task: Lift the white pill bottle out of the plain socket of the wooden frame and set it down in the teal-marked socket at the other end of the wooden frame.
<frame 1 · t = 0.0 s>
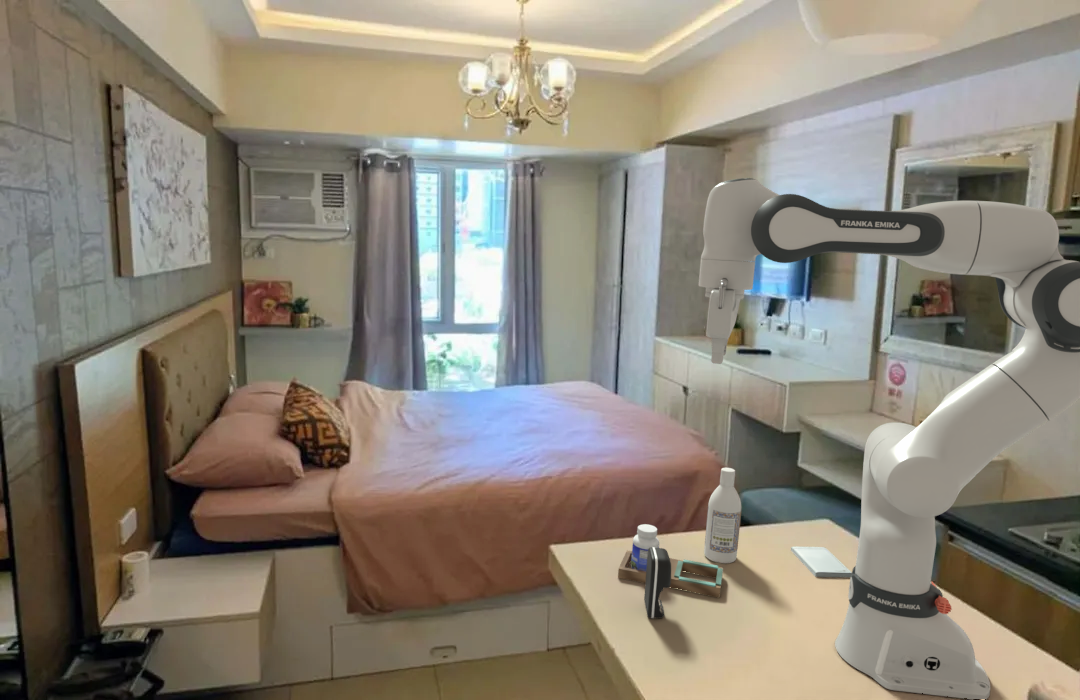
hand: (718, 358, 116), 48 cm above the table, tool pointing down, fingers open, 8 cm apart
wooden frame: (670, 577, 139), on the table
pill bottle: (643, 573, 141), resting in wooden frame
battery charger: (655, 611, 126), on the table
bath foam: (719, 557, 149), on the table
hard drive: (820, 566, 149), on the table
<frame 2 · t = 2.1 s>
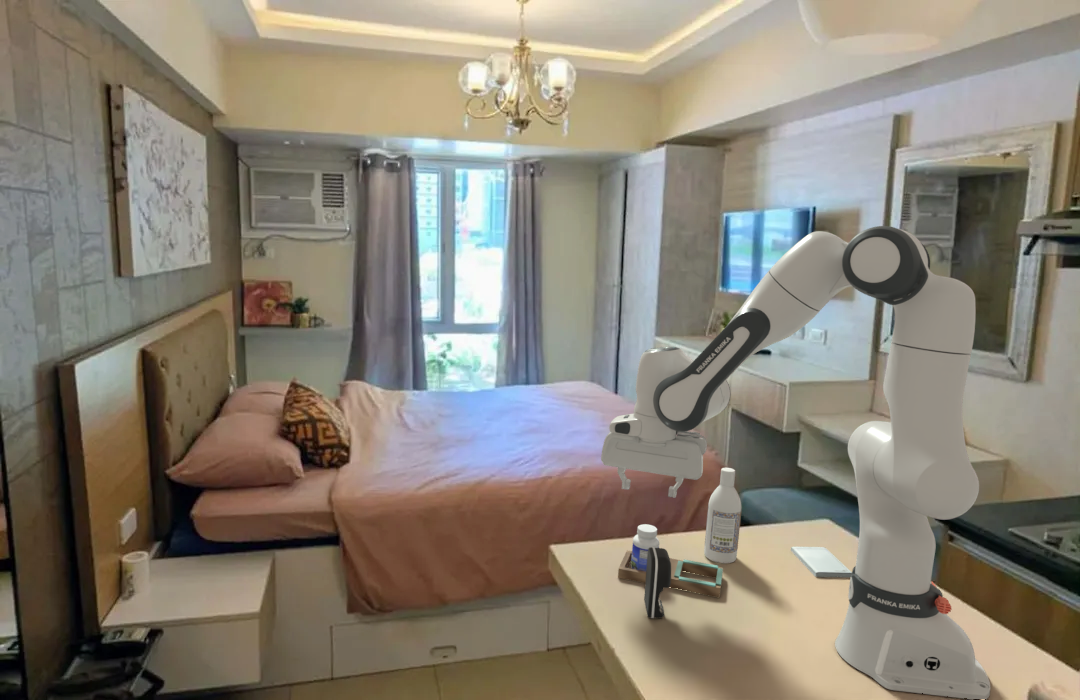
hand: (648, 492, 138), 17 cm above the table, tool pointing down, fingers open, 8 cm apart
nothing on the table moved.
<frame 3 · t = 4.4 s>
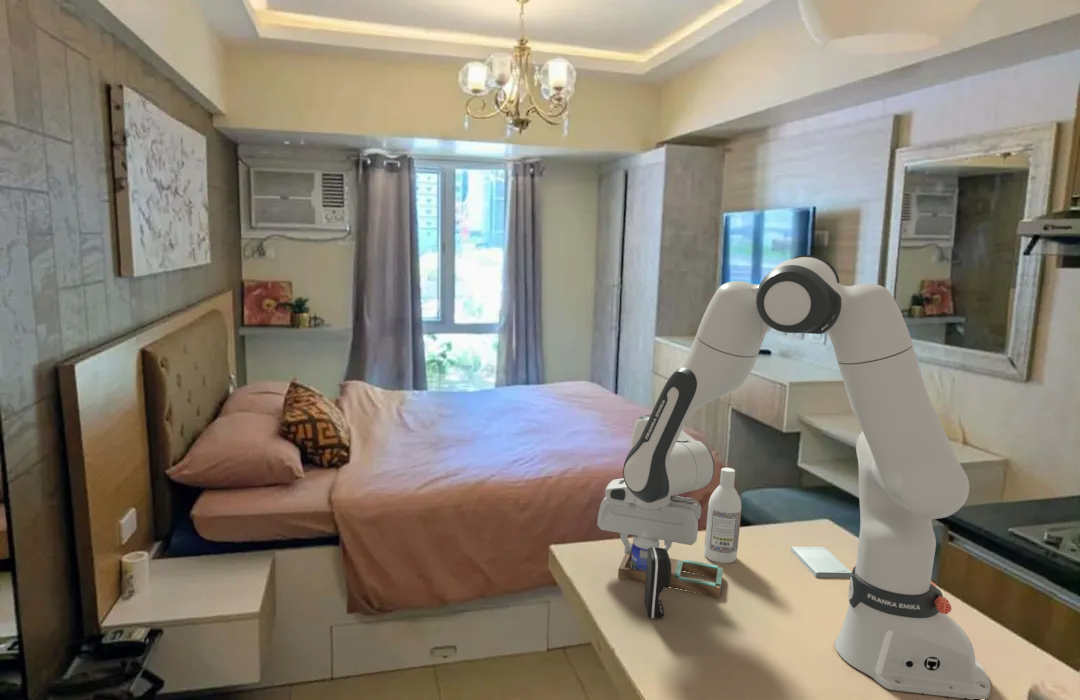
hand: (644, 555, 140), 4 cm above the table, tool pointing down, fingers closed on pill bottle, 5 cm apart
pill bottle: (643, 573, 141), resting in wooden frame, touching gripper
everything else where it was.
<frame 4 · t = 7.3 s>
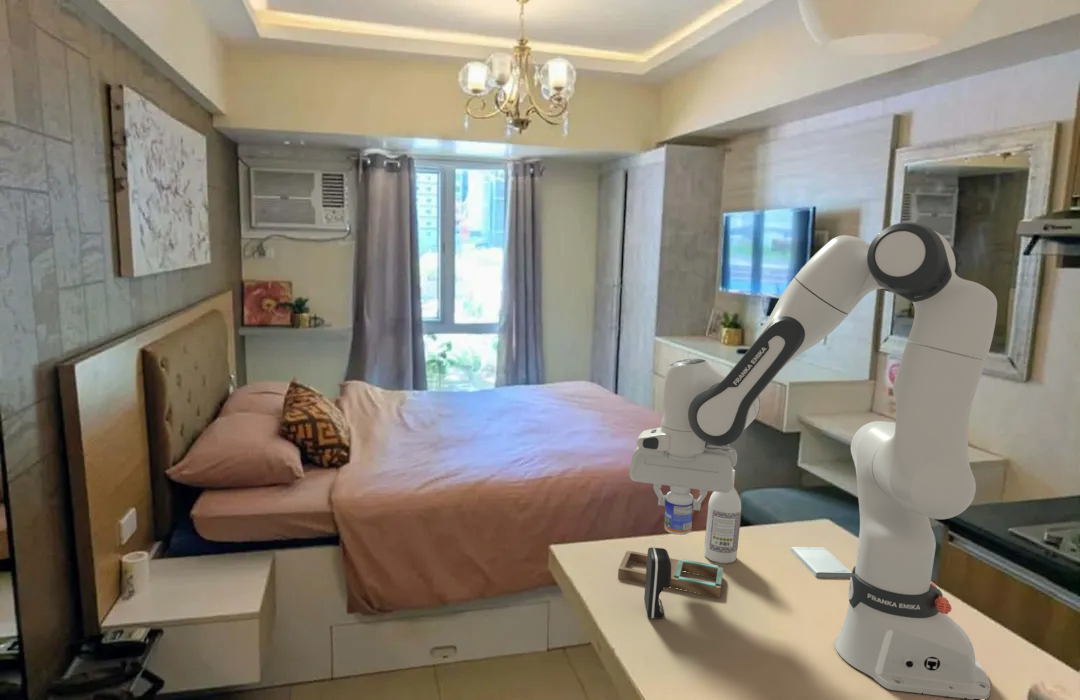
hand: (679, 507, 136), 15 cm above the table, tool pointing down, fingers closed on pill bottle, 5 cm apart
pill bottle: (677, 530, 137), point 10 cm above the table, touching gripper
everything else where it was.
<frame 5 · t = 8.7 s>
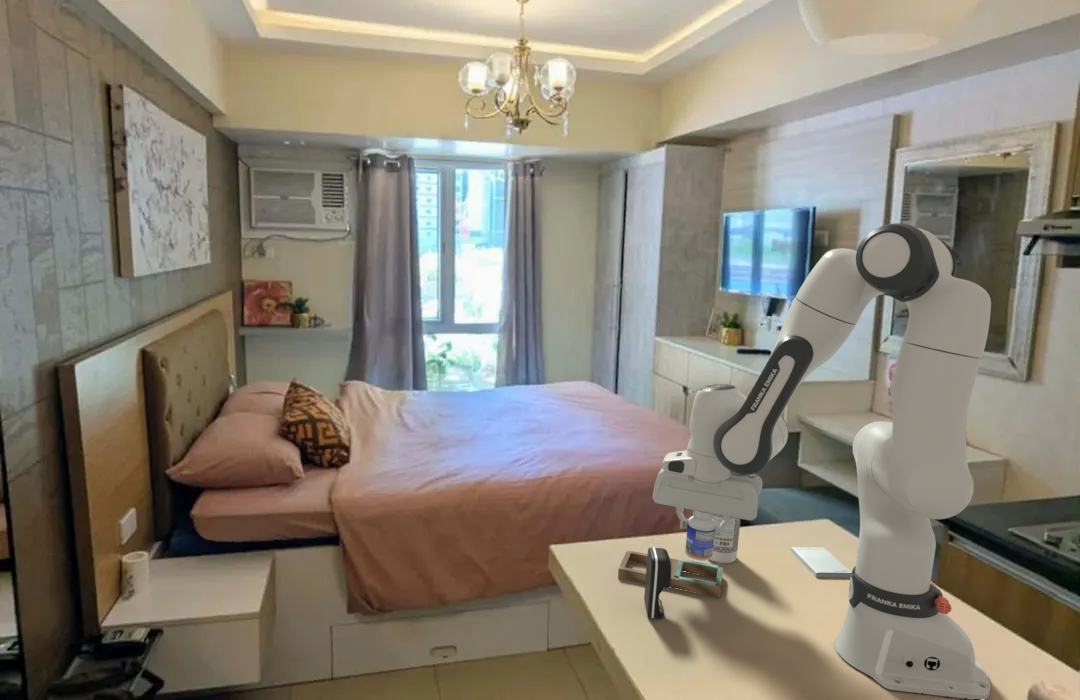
hand: (700, 531, 136), 11 cm above the table, tool pointing down, fingers closed on pill bottle, 5 cm apart
pill bottle: (698, 555, 137), point 6 cm above the table, touching gripper
everything else where it was.
when the fingers open (5 cm above the table, at t = 10.3 s): pill bottle stays where it is, resting in wooden frame.
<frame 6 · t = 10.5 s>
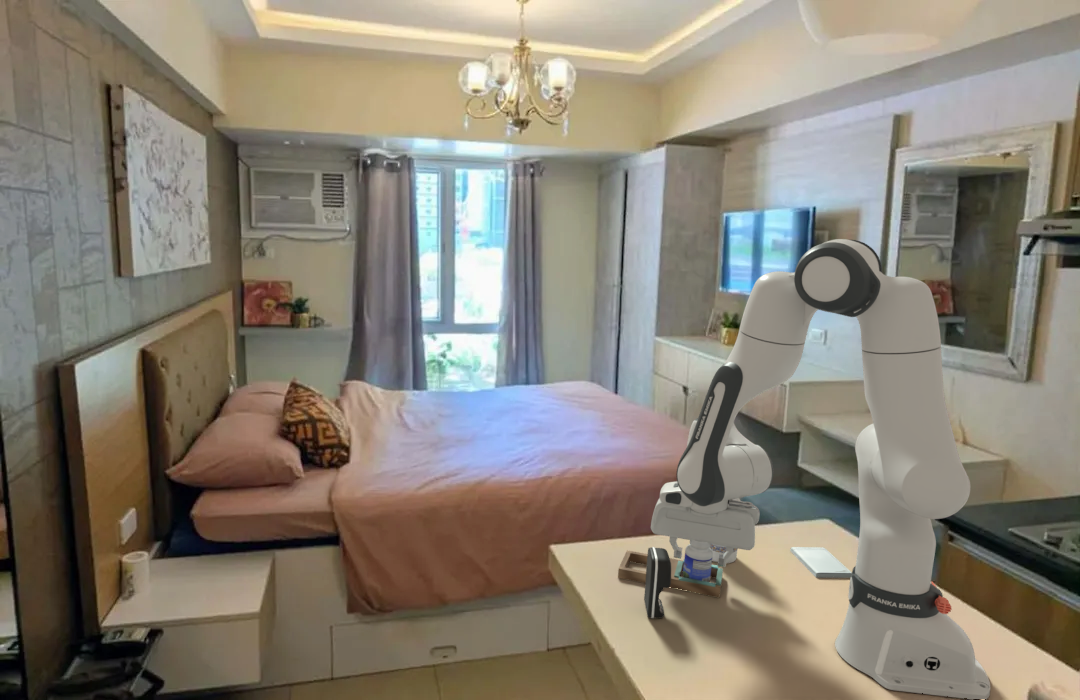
hand: (699, 561, 137), 5 cm above the table, tool pointing down, fingers open, 7 cm apart
pill bottle: (695, 584, 137), resting in wooden frame
everything else where it was.
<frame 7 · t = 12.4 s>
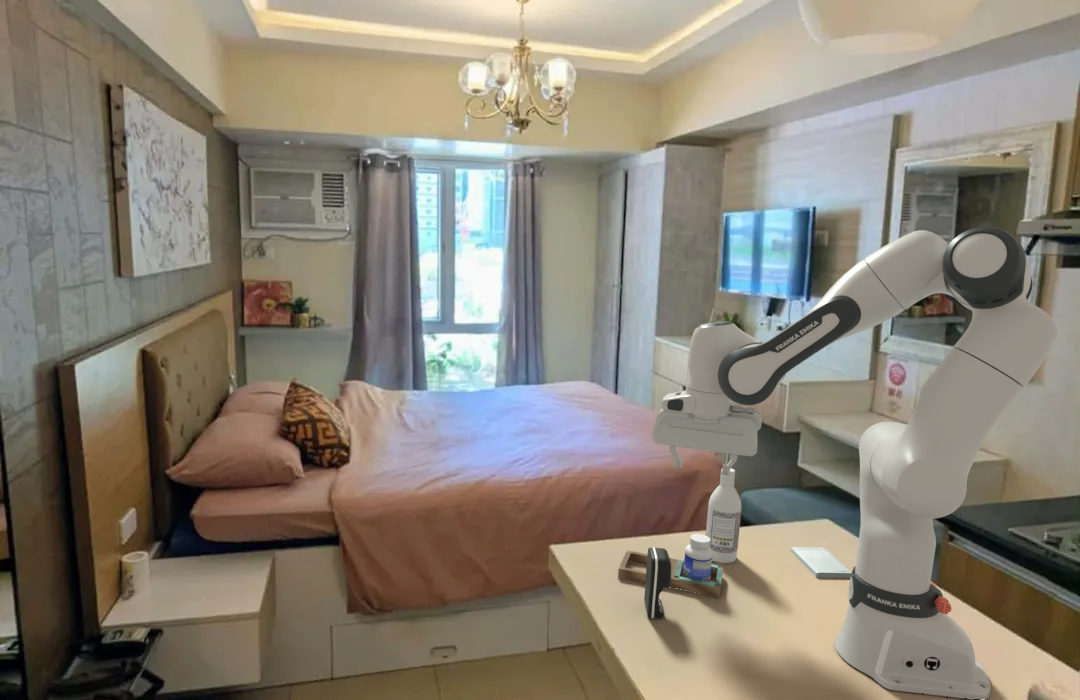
hand: (701, 470, 136), 23 cm above the table, tool pointing down, fingers open, 8 cm apart
nothing on the table moved.
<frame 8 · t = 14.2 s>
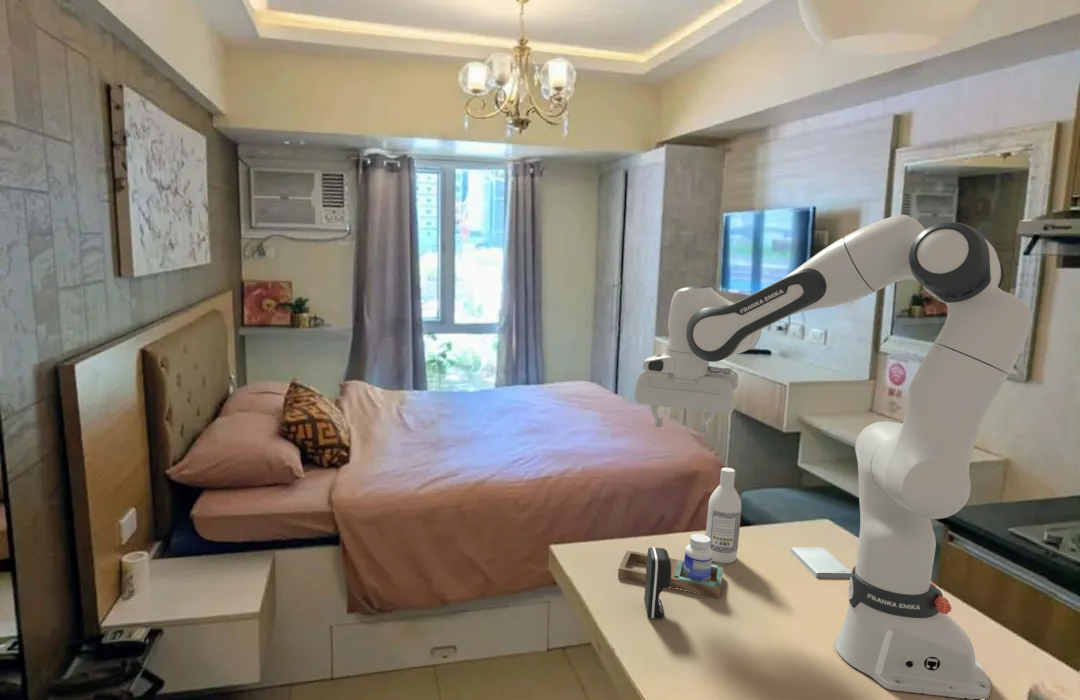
hand: (681, 429, 142), 29 cm above the table, tool pointing down, fingers open, 8 cm apart
nothing on the table moved.
at the end: pill bottle 0.5 cm from the target spot on the wooden frame, point 0.0 cm above the wooden frame's base; pill bottle tilted 0°; the gripper is holding nothing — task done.
